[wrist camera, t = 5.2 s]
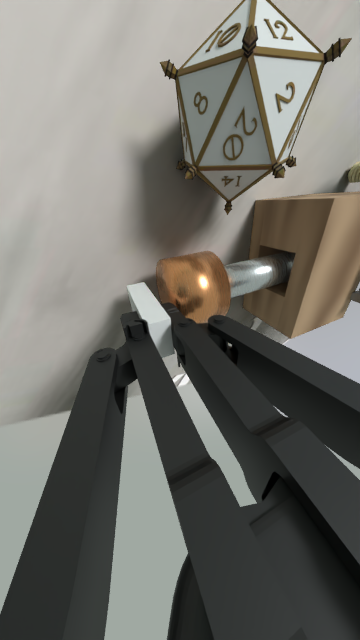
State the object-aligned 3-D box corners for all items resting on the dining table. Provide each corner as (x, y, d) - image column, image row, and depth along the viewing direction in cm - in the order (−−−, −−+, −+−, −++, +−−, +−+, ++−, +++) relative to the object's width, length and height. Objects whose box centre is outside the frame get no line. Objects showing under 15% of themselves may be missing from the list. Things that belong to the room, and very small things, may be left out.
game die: (194, 175, 19) (243, 254, 16) (115, 102, 12) (174, 215, 9) (283, 58, 13) (380, 144, 10) (228, -181, 7) (445, -124, 4)
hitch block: (242, 307, 25) (307, 349, 18) (255, 200, 18) (366, 197, 11) (289, 292, 27) (363, 324, 20) (316, 193, 21) (438, 187, 14)
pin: (161, 312, 20) (185, 345, 15) (152, 252, 16) (179, 272, 12) (278, 279, 24) (325, 297, 20) (289, 228, 21) (348, 234, 16)
